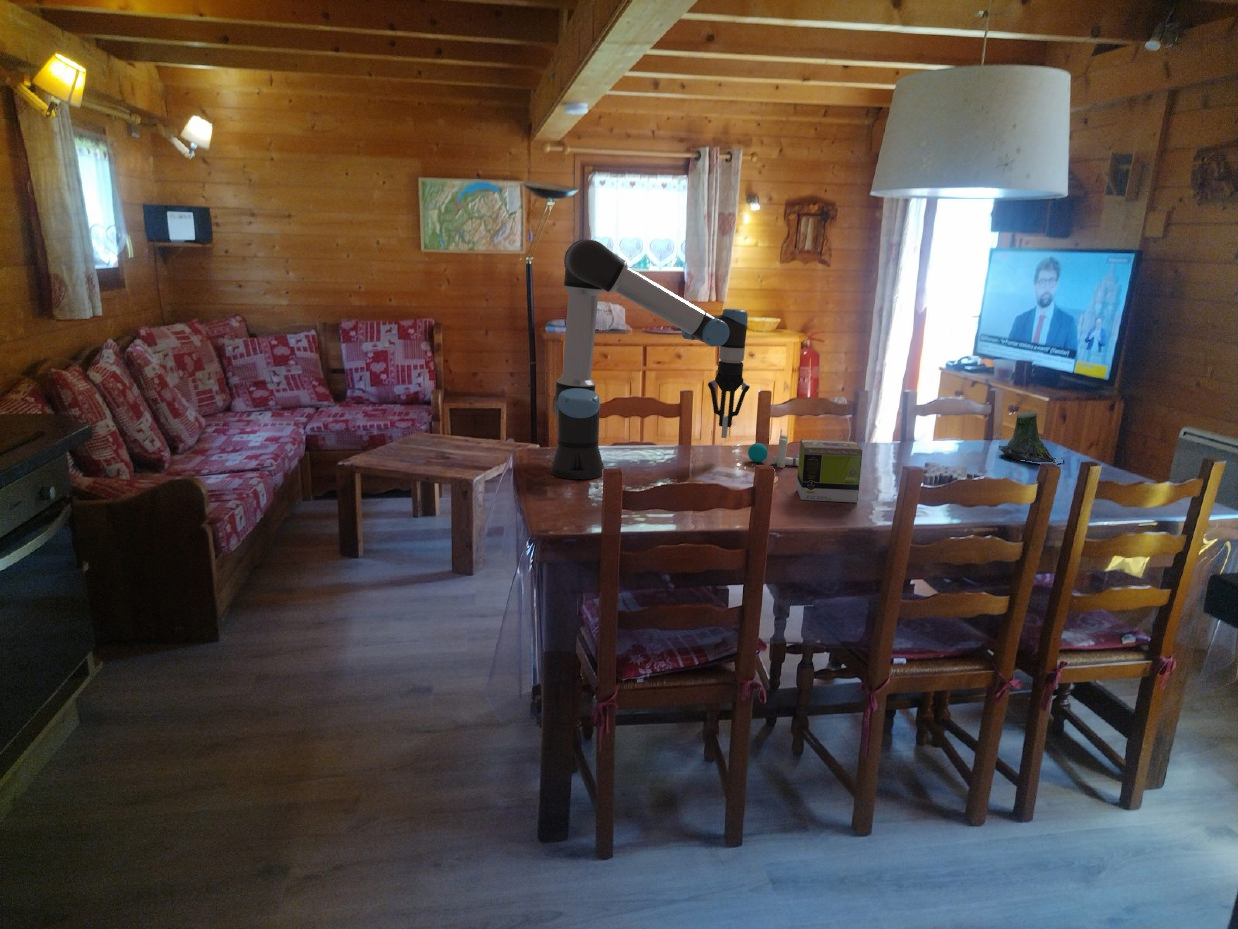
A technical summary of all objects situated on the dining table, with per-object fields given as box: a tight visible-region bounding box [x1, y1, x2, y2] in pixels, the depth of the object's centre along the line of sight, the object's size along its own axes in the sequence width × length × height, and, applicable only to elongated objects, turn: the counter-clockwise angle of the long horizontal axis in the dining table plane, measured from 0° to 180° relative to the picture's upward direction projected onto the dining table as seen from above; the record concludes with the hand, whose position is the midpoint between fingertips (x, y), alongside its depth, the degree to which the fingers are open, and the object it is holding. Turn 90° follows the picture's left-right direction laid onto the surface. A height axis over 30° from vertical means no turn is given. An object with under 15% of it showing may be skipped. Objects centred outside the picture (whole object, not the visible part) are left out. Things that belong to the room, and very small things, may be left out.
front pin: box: [772, 455, 799, 467], centre depth 248 cm, size 2×2×8 cm
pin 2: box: [776, 438, 788, 469], centre depth 245 cm, size 2×2×8 cm
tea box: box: [796, 439, 863, 504], centre depth 216 cm, size 15×10×15 cm, turn 84°
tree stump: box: [998, 411, 1063, 465], centre depth 265 cm, size 18×20×18 cm
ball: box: [747, 442, 768, 463], centre depth 250 cm, size 6×6×6 cm
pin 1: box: [779, 434, 789, 453], centre depth 250 cm, size 2×2×8 cm
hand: (724, 436), depth 250 cm, fingers closed
